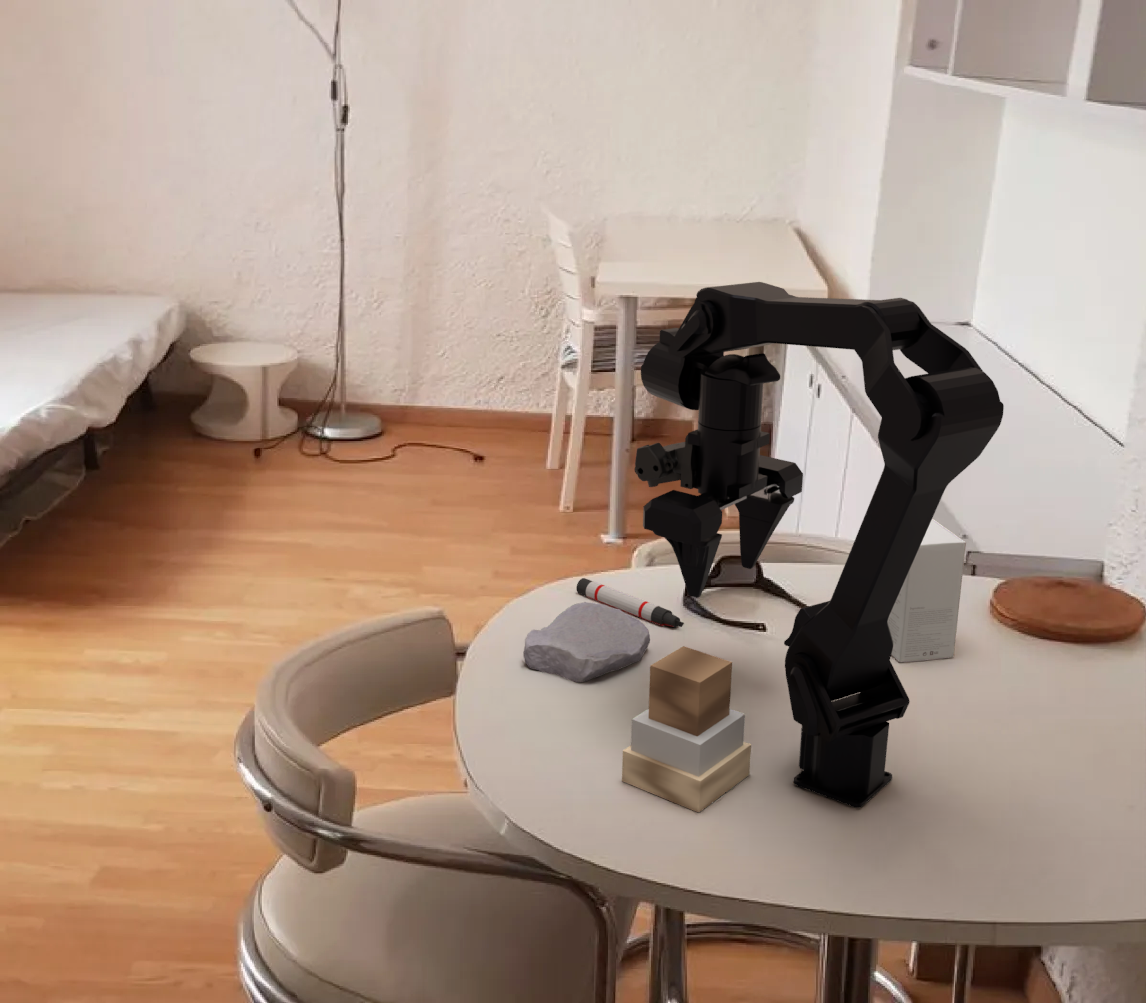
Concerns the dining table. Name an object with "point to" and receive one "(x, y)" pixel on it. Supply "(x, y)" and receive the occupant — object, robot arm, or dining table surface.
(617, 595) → the marker
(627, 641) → the stone block
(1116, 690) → the dining table surface
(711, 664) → the walnut cube
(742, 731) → the grey block
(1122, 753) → the dining table surface
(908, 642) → the small box
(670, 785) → the beech base block
